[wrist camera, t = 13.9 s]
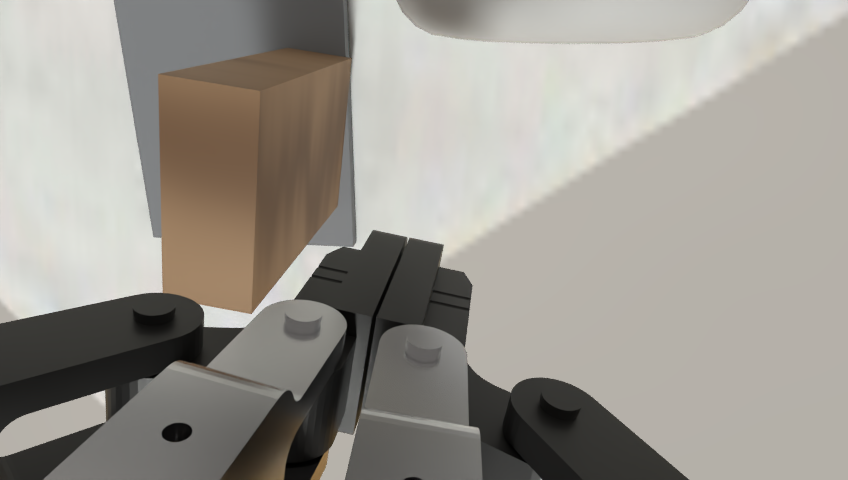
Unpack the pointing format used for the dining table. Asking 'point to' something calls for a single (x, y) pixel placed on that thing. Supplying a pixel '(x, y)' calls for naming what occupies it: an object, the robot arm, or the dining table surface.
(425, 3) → the donut
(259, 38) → the rubber mat
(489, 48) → the dining table surface
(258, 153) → the walnut slab
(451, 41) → the dining table surface
